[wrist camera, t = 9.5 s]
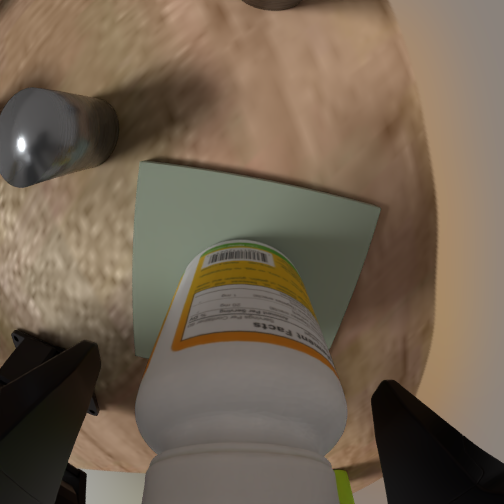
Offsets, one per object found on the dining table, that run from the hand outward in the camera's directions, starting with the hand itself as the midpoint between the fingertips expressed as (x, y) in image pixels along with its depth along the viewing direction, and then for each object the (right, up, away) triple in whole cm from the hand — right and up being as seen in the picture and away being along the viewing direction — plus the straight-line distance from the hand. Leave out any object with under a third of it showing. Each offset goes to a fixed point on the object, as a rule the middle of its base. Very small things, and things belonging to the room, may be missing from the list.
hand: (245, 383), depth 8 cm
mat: (0, +2, +5) cm, 6 cm away
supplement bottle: (0, +2, +5) cm, 5 cm away
